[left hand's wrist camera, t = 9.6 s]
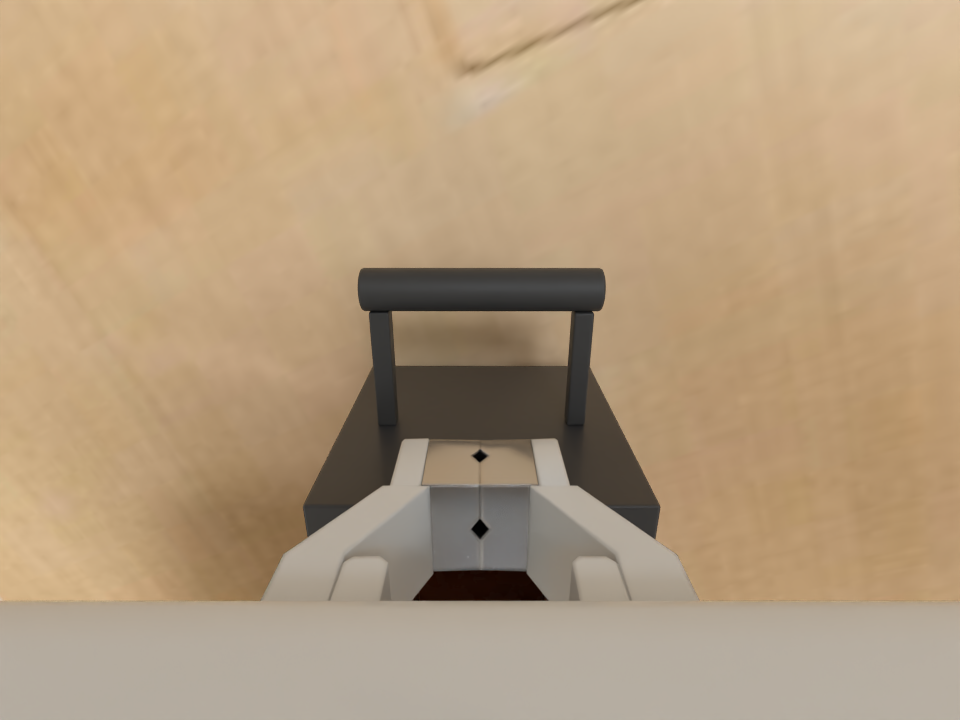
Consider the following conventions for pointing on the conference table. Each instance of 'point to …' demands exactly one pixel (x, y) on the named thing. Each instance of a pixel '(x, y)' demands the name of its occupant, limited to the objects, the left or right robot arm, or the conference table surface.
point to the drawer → (482, 405)
